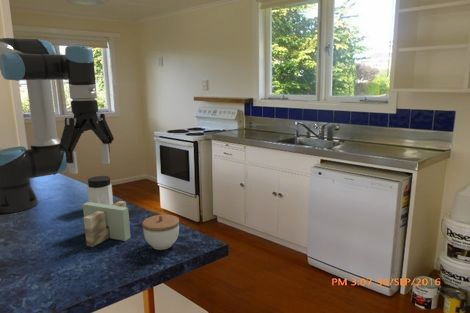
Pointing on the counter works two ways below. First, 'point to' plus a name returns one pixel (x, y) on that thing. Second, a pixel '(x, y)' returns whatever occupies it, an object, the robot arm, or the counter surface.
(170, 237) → the lidded jar
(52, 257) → the counter surface
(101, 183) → the jar
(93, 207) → the sage plate
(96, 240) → the beech u-shaped block
